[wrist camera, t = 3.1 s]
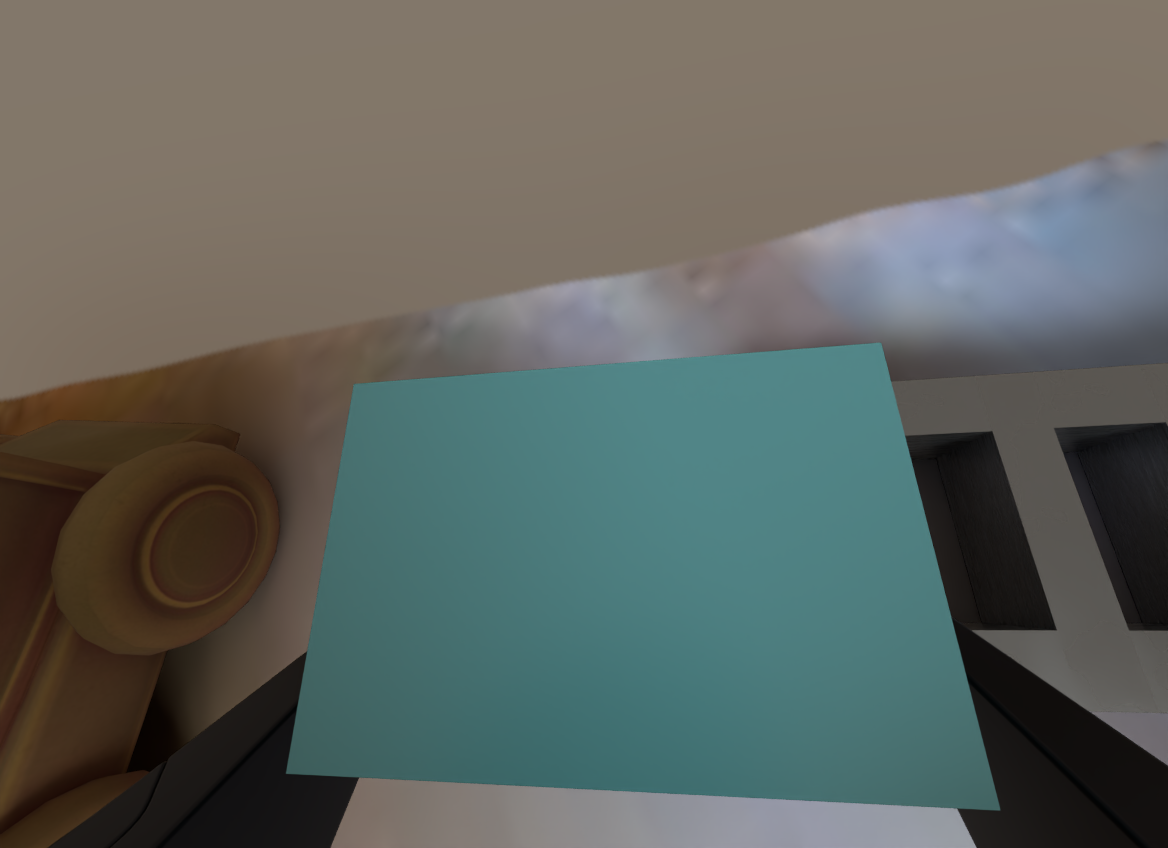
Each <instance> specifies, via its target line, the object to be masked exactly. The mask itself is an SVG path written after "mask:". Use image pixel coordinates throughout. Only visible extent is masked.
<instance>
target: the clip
mask: <svg viewBox="0 0 1168 848" xmlns="http://www.w3.org/2000/svg"><path fill="white" fill-rule="evenodd" d="M286 774H302V775H322V776H341V777H360V778H380V779H399V780H419V781H438V782H457V783H477V784H496V785H515V786H535V787H554V788H573V789H593V790H612V791H631V792H651V793H670V794H689V795H709V796H728V797H747V798H767V799H786V800H805V801H825V802H844V803H863V804H883V805H902V806H921V807H941V808H960V809H979V810H999V811H1001V810H1000V806H999V802H998V798H997V794H996V790H995V786H994V782H993V779H992V775H991V771H990V767H989V763H988V759H987V755H986V751H985V747H984V743H983V739H982V735H981V732H980V728H979V724H978V720H977V716H976V712H975V708H974V704H973V700H972V696H971V692H970V688H969V685H968V681H967V677H966V673H965V669H964V665H963V661H962V657H961V653H960V649H959V645H958V642H957V638H956V634H955V630H954V626H953V622H952V618H951V614H950V610H949V606H948V602H947V598H946V595H945V591H944V587H943V583H942V579H941V575H940V571H939V567H938V563H937V559H936V555H935V551H934V548H933V544H932V540H931V536H930V532H929V528H928V524H927V520H926V516H925V512H924V508H923V504H922V501H921V497H920V493H919V489H918V485H917V481H916V477H915V473H914V469H913V465H912V461H911V457H910V454H909V450H908V446H907V442H906V438H905V434H904V430H903V426H902V422H901V418H900V414H899V410H898V407H897V403H896V399H895V395H894V391H893V387H892V383H891V379H890V375H889V371H888V367H887V363H886V360H885V356H884V352H883V348H882V344H881V343H870V344H857V345H844V346H831V347H819V348H806V349H793V350H780V351H768V352H755V353H742V354H729V355H717V356H704V357H691V358H678V359H666V360H653V361H640V362H627V363H615V364H602V365H589V366H576V367H564V368H551V369H538V370H525V371H513V372H500V373H487V374H474V375H462V376H449V377H436V378H423V379H411V380H398V381H385V382H372V383H360V384H354V386H353V392H352V398H351V404H350V409H349V415H348V421H347V426H346V432H345V438H344V444H343V449H342V455H341V461H340V467H339V472H338V478H337V484H336V490H335V495H334V501H333V507H332V512H331V518H330V524H329V530H328V535H327V541H326V547H325V553H324V558H323V564H322V570H321V576H320V581H319V587H318V593H317V599H316V604H315V610H314V616H313V621H312V627H311V633H310V639H309V644H308V650H307V656H306V662H305V667H304V673H303V679H302V685H301V690H300V696H299V702H298V707H297V713H296V719H295V725H294V730H293V736H292V742H291V748H290V753H289V759H288V765H287V771H286Z"/></svg>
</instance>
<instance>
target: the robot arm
mask: <svg viewBox="0 0 1168 848" xmlns="http://www.w3.org/2000/svg"><path fill="white" fill-rule="evenodd" d="M951 618H952V622H953V626H954V630H955V634H956V638H957V642H958V645H959V649H960V653H961V657H962V661H963V665H964V669H965V673H966V677H967V681H968V685H969V688H970V692H971V696H972V700H973V704H974V708H975V712H976V716H977V720H978V724H979V728H980V732H981V735H982V739H983V743H984V747H985V751H986V755H987V759H988V763H989V767H990V771H991V775H992V779H993V782H994V786H995V790H996V794H997V798H998V802H999V806H1000V810H1001V811H999V810H979V809H960V808H957V809H958V811H959V813H960V815H961V817H962V819H963V821H964V823H965V825H966V827H967V829H968V831H969V833H970V835H971V837H972V839H973V841H974V843H975V845H976V847H977V848H1168V766H1167V765H1166V764H1164V763H1163V762H1162V761H1160V760H1159V759H1157V758H1156V757H1154V756H1153V755H1151V754H1150V753H1149V752H1147V751H1146V750H1144V749H1143V748H1141V747H1140V746H1138V745H1137V744H1135V743H1134V742H1133V741H1131V740H1130V739H1128V738H1127V737H1125V736H1124V735H1122V734H1121V733H1120V732H1118V731H1117V730H1115V729H1114V728H1112V727H1111V726H1109V725H1108V724H1106V723H1105V722H1104V721H1102V720H1101V719H1099V718H1098V717H1096V716H1095V715H1093V714H1092V713H1091V712H1089V711H1088V710H1086V709H1085V708H1083V707H1082V706H1080V705H1079V704H1077V703H1076V702H1075V701H1073V700H1072V699H1070V698H1069V697H1067V696H1066V695H1064V694H1063V693H1062V692H1060V691H1059V690H1057V689H1056V688H1054V687H1053V686H1051V685H1050V684H1048V683H1047V682H1046V681H1044V680H1043V679H1041V678H1040V677H1038V676H1037V675H1035V674H1034V673H1033V672H1031V671H1030V670H1028V669H1027V668H1025V667H1024V666H1022V665H1021V664H1019V663H1018V662H1017V661H1015V660H1014V659H1012V658H1011V657H1009V656H1008V655H1006V654H1005V653H1004V652H1002V651H1001V650H999V649H998V648H996V647H995V646H993V645H992V644H991V643H989V642H988V641H986V640H985V639H983V638H982V637H980V636H979V635H977V634H976V633H975V632H973V631H972V630H970V629H969V628H967V627H966V626H964V625H963V624H962V623H960V622H959V621H957V620H956V619H954V618H953V617H951ZM306 656H307V652H305V653H304V654H303V655H302V656H300V657H299V658H298V659H296V660H295V661H294V662H292V663H291V664H290V665H289V666H287V667H286V668H285V669H283V670H282V671H281V672H279V673H278V674H277V675H275V676H274V677H273V678H272V679H270V680H269V681H268V682H266V683H265V684H264V685H262V686H261V687H260V688H259V689H257V690H256V691H255V692H253V693H252V694H251V695H249V696H248V697H247V698H246V699H244V700H243V701H242V702H240V703H239V704H238V705H236V706H235V707H234V708H233V709H231V710H230V711H229V712H227V713H226V714H225V715H223V716H222V717H221V718H220V719H218V720H217V721H216V722H214V723H213V724H212V725H210V726H209V727H208V728H207V729H205V730H204V731H203V732H201V733H200V734H199V735H197V736H196V737H195V738H193V739H192V740H191V741H190V742H188V743H187V744H186V745H184V746H183V747H182V748H180V749H179V750H178V751H177V752H175V753H174V754H173V755H171V756H170V757H169V758H168V760H167V762H166V761H165V762H162V763H161V764H159V765H158V766H157V767H156V768H154V769H153V770H152V771H150V772H149V773H148V774H146V775H145V776H144V777H143V778H141V779H140V780H139V781H137V782H136V783H135V784H133V785H132V786H131V787H129V788H128V789H127V790H125V791H124V792H123V793H121V794H120V795H119V796H117V797H116V798H115V799H113V800H112V801H111V802H109V803H108V804H107V805H105V806H104V807H103V808H101V809H100V810H99V811H97V812H96V813H95V814H93V815H92V816H91V817H89V818H88V819H87V820H85V821H84V822H82V823H81V824H80V825H78V826H77V827H75V828H74V829H73V830H71V831H70V832H68V833H67V834H66V835H64V836H63V837H61V838H60V839H59V840H57V841H56V842H54V843H53V844H52V845H50V846H49V847H47V848H330V847H331V845H332V842H333V840H334V837H335V835H336V833H337V830H338V828H339V825H340V823H341V820H342V818H343V815H344V813H345V811H346V808H347V806H348V803H349V801H350V798H351V796H352V794H353V791H354V789H355V786H356V784H357V781H358V779H359V777H341V776H322V775H302V774H286V771H287V765H288V759H289V753H290V748H291V742H292V736H293V730H294V725H295V719H296V713H297V707H298V702H299V696H300V690H301V685H302V679H303V673H304V667H305V662H306Z"/></svg>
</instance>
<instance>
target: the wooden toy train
mask: <svg viewBox="0 0 1168 848" xmlns="http://www.w3.org/2000/svg"><path fill="white" fill-rule="evenodd" d="M239 436H240V434H239V433H236V432H234V431H231V430H228V429H226V428H223V427H220V426H217V425H214V424H180V423H147V422H113V421H80V420H58V421H56V422H53V423H51V424H48V425H46V426H43V427H41V428H38V429H36V430H33V431H31V432H29V433H26V434H24V435H21V436H12V435H4V434H0V848H47V847H49V846H50V845H52V844H53V843H54V842H56V841H57V840H59V839H60V838H61V837H63V836H64V835H66V834H67V833H68V832H70V831H71V830H73V829H74V828H75V827H77V826H78V825H80V824H81V823H82V822H84V821H85V820H87V819H88V818H89V817H91V816H92V815H93V814H95V813H96V812H97V811H99V810H100V809H101V808H103V807H104V806H105V805H107V804H108V803H109V802H111V801H112V800H113V799H115V798H116V797H117V796H119V795H120V794H121V793H123V792H124V791H125V790H127V789H128V788H129V787H131V786H132V785H133V784H135V783H136V782H137V781H139V780H140V779H141V778H143V777H144V776H145V775H146V774H148V773H149V772H148V771H144V770H140V771H135V772H129V773H126V771H127V769H128V766H129V763H130V760H131V757H132V754H133V751H134V748H135V745H136V742H137V739H138V736H139V733H140V730H141V727H142V724H143V721H144V718H145V715H146V712H147V709H148V706H149V703H150V700H151V697H152V694H153V691H154V688H155V685H156V683H157V680H158V677H159V674H160V671H161V668H162V665H163V662H164V659H165V656H166V653H167V650H170V649H174V648H178V647H181V646H184V645H187V644H189V643H192V642H194V641H197V640H199V639H200V638H202V637H204V636H205V635H207V634H209V633H210V632H212V631H214V630H215V629H217V628H219V627H220V626H222V625H224V624H225V623H226V622H227V621H228V620H230V619H231V618H232V617H233V616H234V615H235V614H236V613H237V612H238V611H239V610H240V609H241V608H242V607H243V606H244V605H245V604H246V603H247V602H248V601H249V600H250V598H251V597H252V595H253V594H254V592H255V591H256V589H257V588H258V586H259V585H260V583H261V582H262V581H263V579H264V578H265V576H266V574H267V572H268V569H269V567H270V564H271V562H272V560H273V557H274V555H275V552H276V547H277V541H278V535H279V529H280V525H279V514H278V503H277V500H276V497H275V495H274V492H273V490H272V487H271V485H270V482H269V480H268V479H267V478H266V477H265V476H264V475H263V473H262V472H261V471H260V470H259V469H258V468H257V467H256V465H255V464H254V463H252V462H251V461H249V460H248V459H246V458H245V457H243V456H241V455H239V454H237V453H236V452H234V451H235V448H236V445H237V442H238V439H239Z"/></svg>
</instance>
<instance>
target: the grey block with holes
mask: <svg viewBox="0 0 1168 848" xmlns="http://www.w3.org/2000/svg"><path fill="white" fill-rule="evenodd" d="M891 383H892V387H893V391H894V395H895V399H896V403H897V407H898V410H899V414H900V418H901V422H902V426H903V430H904V434H905V438H906V442H907V446H908V450H909V454H910V457H911V459H925V458H937V462H938V466H939V469H940V473H941V477H942V480H943V484H944V487H945V491H946V495H947V498H948V502H949V506H950V509H951V513H952V517H953V520H954V524H955V527H956V531H957V535H958V538H959V542H960V546H961V549H962V553H963V557H964V560H965V564H966V568H967V571H968V575H969V578H970V582H971V586H972V589H973V593H974V597H975V600H976V604H977V608H978V611H979V615H980V618H981V622H982V623H962V624H963V625H964V626H966V627H967V628H969V629H970V630H972V631H973V632H975V633H976V634H977V635H979V636H980V637H982V638H983V639H985V640H986V641H988V642H989V643H991V644H992V645H993V646H995V647H996V648H998V649H999V650H1001V651H1002V652H1004V653H1005V654H1006V655H1008V656H1009V657H1011V658H1012V659H1014V660H1015V661H1017V662H1018V663H1019V664H1021V665H1022V666H1024V667H1025V668H1027V669H1028V670H1030V671H1031V672H1033V673H1034V674H1035V675H1037V676H1038V677H1040V678H1041V679H1043V680H1044V681H1046V682H1047V683H1048V684H1050V685H1051V686H1053V687H1054V688H1056V689H1057V690H1059V691H1060V692H1062V693H1063V694H1064V695H1066V696H1067V697H1069V698H1070V699H1072V700H1073V701H1075V702H1076V703H1077V704H1079V705H1080V706H1082V707H1083V708H1085V709H1086V710H1088V711H1093V712H1135V713H1168V363H1160V364H1145V365H1130V366H1115V367H1100V368H1085V369H1070V370H1055V371H1041V372H1026V373H1011V374H996V375H981V376H966V377H951V378H937V379H922V380H907V381H892V382H891ZM1063 452H1078V455H1079V458H1080V460H1081V463H1082V465H1083V468H1084V471H1085V473H1086V476H1087V479H1088V481H1089V484H1090V486H1091V489H1092V492H1093V494H1094V497H1095V499H1096V502H1097V505H1098V507H1099V510H1100V513H1101V515H1102V518H1103V520H1104V523H1105V526H1106V528H1107V531H1108V533H1109V536H1110V539H1111V541H1112V544H1113V546H1114V549H1115V552H1116V554H1117V557H1118V560H1119V562H1120V565H1121V567H1122V570H1123V573H1124V575H1125V578H1126V580H1127V583H1128V586H1129V588H1130V591H1131V594H1132V596H1133V599H1134V601H1135V604H1136V607H1137V609H1138V612H1139V614H1140V617H1141V620H1142V622H1143V623H1126V621H1125V618H1124V616H1123V613H1122V610H1121V608H1120V605H1119V602H1118V600H1117V597H1116V594H1115V592H1114V589H1113V586H1112V583H1111V581H1110V578H1109V575H1108V573H1107V570H1106V567H1105V565H1104V562H1103V559H1102V557H1101V554H1100V551H1099V548H1098V546H1097V543H1096V540H1095V538H1094V535H1093V532H1092V530H1091V527H1090V524H1089V522H1088V519H1087V516H1086V514H1085V511H1084V508H1083V505H1082V503H1081V500H1080V497H1079V495H1078V492H1077V489H1076V487H1075V484H1074V481H1073V479H1072V476H1071V473H1070V470H1069V468H1068V465H1067V462H1066V460H1065V457H1064V454H1063Z"/></svg>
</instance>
